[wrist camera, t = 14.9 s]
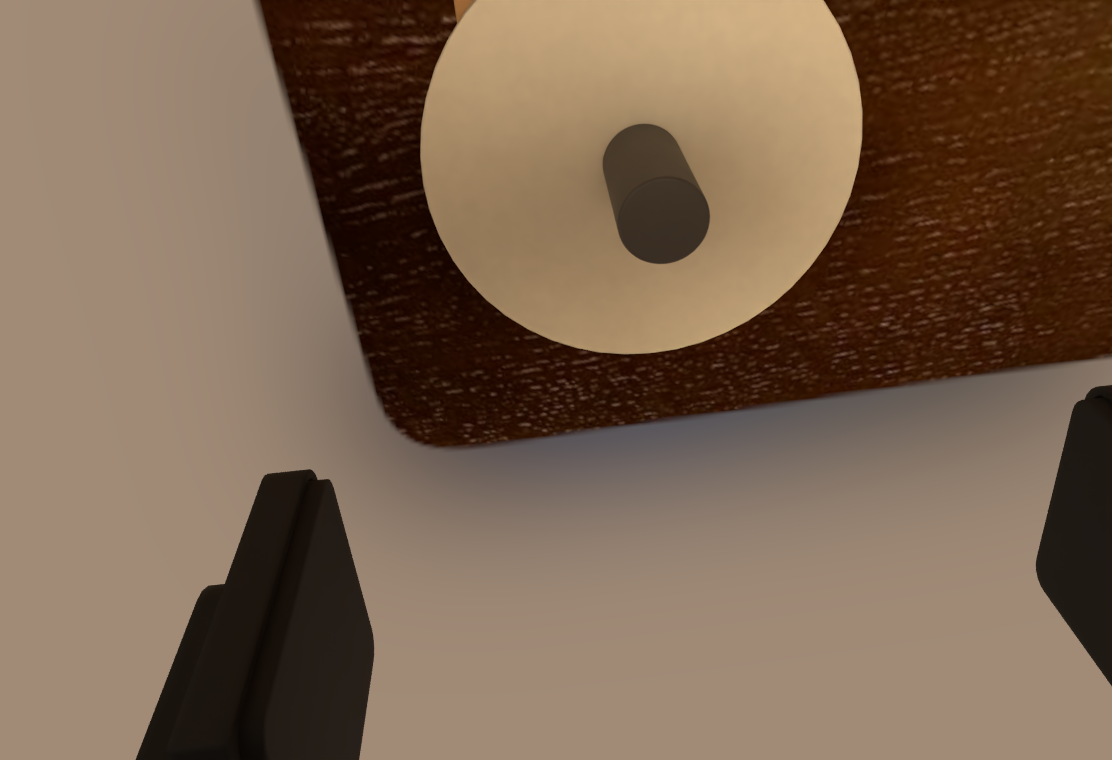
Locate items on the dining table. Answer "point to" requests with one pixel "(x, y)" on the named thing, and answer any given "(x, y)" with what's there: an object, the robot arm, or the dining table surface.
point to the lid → (639, 161)
